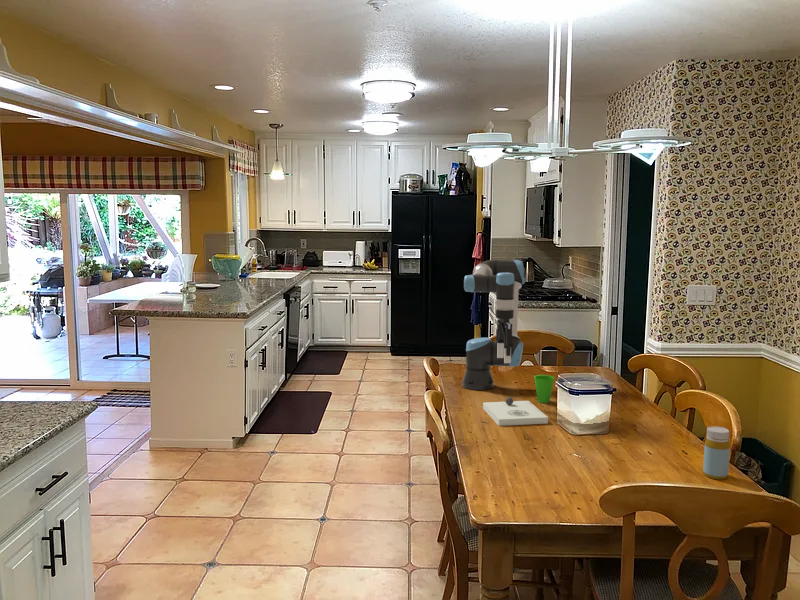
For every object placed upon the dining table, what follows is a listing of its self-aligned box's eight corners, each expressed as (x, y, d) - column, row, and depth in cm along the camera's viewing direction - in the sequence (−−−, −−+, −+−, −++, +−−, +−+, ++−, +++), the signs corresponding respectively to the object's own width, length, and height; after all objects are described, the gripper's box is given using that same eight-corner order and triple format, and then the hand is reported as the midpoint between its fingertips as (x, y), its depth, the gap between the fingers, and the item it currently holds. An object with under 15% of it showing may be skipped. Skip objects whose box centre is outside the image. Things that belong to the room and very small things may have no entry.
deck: (482, 408, 277) (483, 402, 277) (528, 406, 280) (528, 400, 279) (498, 425, 254) (498, 419, 253) (548, 423, 256) (548, 417, 256)
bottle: (698, 472, 206) (701, 426, 205) (719, 471, 207) (722, 425, 205) (710, 480, 200) (713, 433, 198) (732, 479, 200) (735, 432, 198)
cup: (552, 399, 291) (553, 375, 289) (555, 404, 282) (556, 380, 281) (532, 398, 292) (532, 374, 290) (534, 404, 283) (534, 379, 281)
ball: (504, 403, 275) (504, 396, 274) (511, 403, 275) (511, 396, 275) (506, 406, 271) (506, 398, 271) (514, 405, 272) (514, 398, 271)
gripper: (489, 305, 288) (488, 355, 290) (503, 312, 266) (502, 366, 268) (505, 305, 289) (504, 354, 291) (521, 312, 267) (520, 365, 269)
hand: (503, 360), depth 280 cm, fingers open, 10 cm apart
